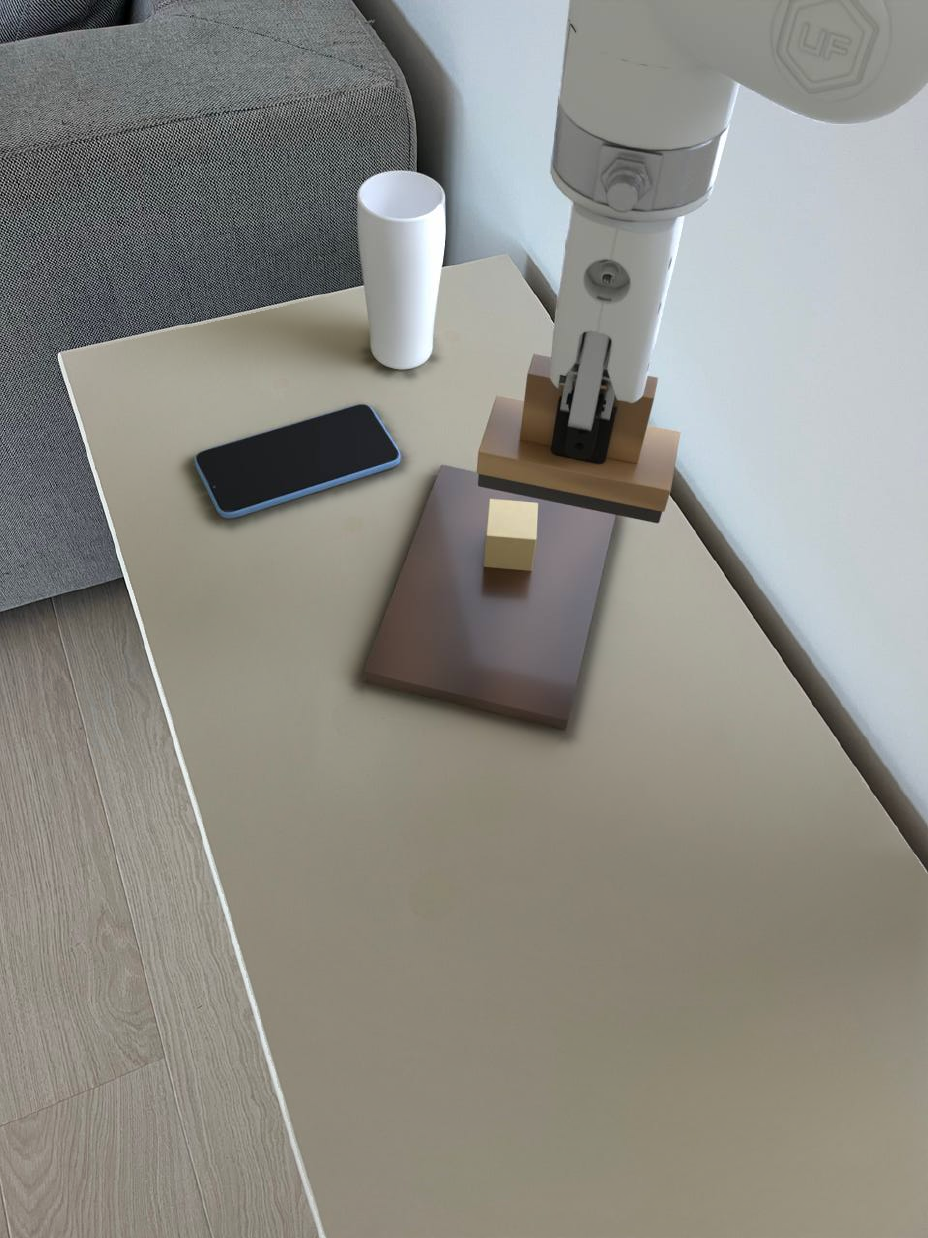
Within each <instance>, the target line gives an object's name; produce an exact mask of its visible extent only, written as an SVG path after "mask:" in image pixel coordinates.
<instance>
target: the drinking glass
mask: <svg viewBox="0 0 928 1238" xmlns="http://www.w3.org/2000/svg"><path fill="white" fill-rule="evenodd" d="M356 230H357V231H356V232H357V245H358V253H359V262H360V267H361V269H360V270H361V274H362V275H361V276H362V282H363V290H364V296H365V303H366V311H367V318H368V320H367V321H368V327H369V344H370V350H371V353H372V356H373V357H374V358H375V360H377V362H378V363H380V364H381V365H383V366H384V367H387V368H390V369H394V370H410V369H414V368H417V367H419V366H420V367H421V365H423V364H425V363H426V362H427V361H428V359H430V358H431V355H432V353H433V349H434V332H435V331H434V330H435V322H436V315H437V306H438V298H439V292H440V283H441V275H442V269H443V261H444V253H445V244H446V243H445V241H446V194H445V190H444V188H443V187H442V185H440V183H439V182H438V181H436V180H435V179H434V178H432V177H429V176H428V175H426V174H424V173H421V172H416V171H411V170H402V169H401V170H399V169H398V170H388V171H382V172H379V173H376V174H374V175H372V176H370V177H368V178H366V179H365V181H363V182H362V183H361V185H360V186H359V188H358V189H357V194H356Z"/></svg>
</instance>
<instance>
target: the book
mask: <svg viewBox="0 0 928 1238" xmlns="http://www.w3.org/2000/svg"><path fill="white" fill-rule="evenodd" d="M478 475H479V474H477V471H473V470H469V469H465V468H459V467H455V466H451V465H446V464H441V465H440V466H439V470H438V472H437V475H436V478H435V480H434V482H433V485H432V488H431V490H430V493H429V496H428V500H427V501H426V503H425V507H424V509H423V512H422V515H421V517H420V520H419V523H418V525H417V528H416V531H415V533H414V535H413V538H412V542H411V544H410V546H409V549H408V552H407V555H406V557H405V560H404V562H403V565H402V568H401V571H400V573H399V575H398V578H397V581H396V583H395V587H394V590H393V592H392V595H391V597H390V600H389V603H388V605H387V608H386V610H385V613H384V615H383V619H382V621H381V624H380V627H379V630H378V632H377V635H376V637H375V640H374V642H373V645H372V648H371V651H370V653H369V656H368V658H367V661H366V664H365V666H364V669H363V682H365V683H370V684H372V685H373V684H374V685H377V686H378V685H379V686H382V687H386V688H390V689H395V690H399V691H402V692H406V693H411V694H415V695H418V696H424V697H427V698H431V699H435V700H438V701H439V700H440V701H444V702H448V703H453V704H456V705H460V706H465V707H469V708H472V709H477V710H481V711H485V712H490V713H493V714H498V715H502V716H506V717H510V718H515V719H518V720H522V721H527V722H531V723H535V724H539V725H543V726H547V727H551V728H555V729H560V730H564V731H567V730H568V725H569V721H570V716H571V711H572V707H573V703H574V699H575V694H576V691H577V685H578V681H579V677H580V674H581V670H582V669H581V668H582V664H583V659H584V655H585V652H586V647H587V642H588V639H589V633H590V630H591V626H592V620H593V616H594V612H595V608H596V604H597V600H598V595H599V591H600V587H601V581H602V578H603V574H604V569H605V564H606V560H607V556H608V552H609V548H610V543H611V539H612V535H613V530H614V526H615V522H616V518H617V515H614V514H609V513H604V512H600V511H595V510H590V509H585V508H580V507H576V506H571V505H566V504H561V503H556V502H551V501H547V500H542V499H537V498H532V497H527V496H522V495H518V494H513V493H508V492H503V491H498V490H493V489H489V488H484V487H479V486H478ZM489 499H498V500H509V501H521V502H533V503H538V518H537V538H536V546H535V553H534V559H533V566H532V571H527V570H515V569H504V568H492V567H484V554H485V542H486V530H487V519H488V508H489Z"/></svg>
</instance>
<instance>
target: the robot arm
mask: <svg viewBox="0 0 928 1238" xmlns="http://www.w3.org/2000/svg"><path fill="white" fill-rule="evenodd" d="M566 18H567V19H566V27H565V35H564V44H563V53H562V61H561V68H560V69H561V70H560V76H559V87H558V93H557V94H558V95H557V104H556V113H555V119H554V128H553V129H554V130H553V137H552V146H551V154H550V161H549V173H550V176H551V179H552V181H553V183H554V185H555V187H556V188H557V189H558V190H559V191H560V193H562V195H564V197H566V198H567V199H568V200H570V202H569V209H568V215H567V221H566V228H565V235H564V242H563V250H562V257H561V264H560V272H559V279H558V288H557V296H556V304H555V305H556V306H555V314H554V322H553V331H552V332H553V333H552V343H551V353H550V357H551V363H550V379H551V381H552V383H553V384H554V385H555V386H556V387H557V388H558V389H559V387H560V385H564V388H563V395H562V397H559V401H558V406H557V412H556V419H555V425H554V432H553V438H552V445H551V452H552V454H554V455H556V456H561V457H565V458H570V459H575V460H580V461H585V462H590V463H595V464H603V463H604V462H605V461H606V456H607V452H608V447H609V443H610V438H611V433H612V429H613V424H614V419H615V415H616V410H617V408H616V407H612V406H613V402H614V397H615V396H616V398H617V400H620V401H627V402H629V403H634V402H636V401H638V400H639V399H640V398H641V397H642V396H643V393H644V389H645V385H646V381H647V377H648V376H649V373H650V367H651V364H652V360H653V356H654V351H655V347H656V343H657V339H658V334H659V331H660V326H661V322H662V319H663V314H664V311H665V310H664V309H665V306H666V302H667V297H668V294H669V289H670V285H671V281H672V276H673V272H674V267H675V264H676V259H677V254H678V250H679V246H680V241H681V235H682V231H683V226H684V220H685V216H687V215H688V214H691V213H693V212H695V211H696V210H698V209H699V208H701V207H702V206H703V205H704V204H705V203H706V202H707V201H708V200H709V198H710V197H711V195H712V193H713V190H714V187H715V182H716V179H717V175H718V171H719V167H720V163H721V159H722V155H723V151H724V147H725V143H726V140H727V136H728V132H729V128H730V125H731V118H732V115H733V112H734V108H735V104H736V99H737V96H738V92H739V88H740V85H741V86H743V87H744V88H746V89H748V90H749V91H751V92H753V93H754V94H756V95H758V96H760V97H761V98H763V99H764V100H766V101H769V102H770V103H772V104H774V105H776V106H777V107H780V108H782V109H783V110H785V111H788V112H790V113H792V114H795V115H796V116H799V117H801V118H805V119H807V120H811V121H814V122H818V123H822V124H828V125H836V126H837V125H839V126H852V125H859V124H865V123H870V122H873V121H876V120H879V119H882V118H885V117H886V116H887V117H888V115H891V114H893V113H894V112H896V111H898V110H900V109H901V108H903V107H904V106H905V105H907V104H908V103H910V102H911V101H912V100H913V99H915V98H916V97H917V96H918V95H919V94H920V93H921V92H922V91H923V90H924V89H925V88H926V87H927V85H928V0H568V10H567V17H566ZM575 383H576V385H575ZM601 385H603V386H607V387H606V392H605V397H604V394H602V393H599V391H600V386H601Z"/></svg>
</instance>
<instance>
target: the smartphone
mask: <svg viewBox="0 0 928 1238" xmlns="http://www.w3.org/2000/svg"><path fill="white" fill-rule="evenodd" d="M401 459H402V456H401V452H400V449H399V447H398V446H397V445H396V443H395V441H394V440H393V437H392V436H391V434H390V433H389V432H388V430H387V429H386V427H385V425H384V424H383V422H382V421H381V419H380V418H379V416H378V415H377V412H376V411H375V410H374V409H373V407H372V406H370V405H368V404H367V403H366V404H365V403H358V404H354V405H351V406H347V407H343V408H341V409H337V410H333V411H331V412H327V413H324V414H321V415H320V414H319V415H316V416H314V417H310V418H307V419H304V420H300V421H297V422H293V423H290V424H287V425H284V426H281V427H280V426H279V427H276V428H274V429H270V430H266V431H263V432H260V433H257V434H253V435H249V436H247V437H244V438H240V439H236V440H233V441H229V442H227V443H223V444H219V445H216V446H213V447H209V448H206V449H203V450H201V451H199V452H198V453H197V454H196V455H195V457H194V465H195V468H196V471H197V472H198V474H199V477H200V478H201V481H202V483H203V485H204V487H205V489H206V492H208V495H209V498H210V499H211V502H212V504H213V506H214V508H215V510H216V512H217V514H218V515H220V517H222V518H224V519H235V518H239V517H243V516H245V515H248V514H251V513H255V512H258V511H261V510H264V509H267V508H270V507H273V506H277V505H280V504H283V503H286V502H290V501H292V500H296V499H298V498H302V497H305V496H308V495H311V494H315V493H317V492H320V491H324V490H326V489H329V488H332V487H336V486H339V485H342V484H345V483H348V482H351V481H355V480H358V479H362V478H364V477H367V476H370V475H373V474H377V473H380V472H383V471H386V470H389V469H391V468H394V467H396V466H398V465H399V464H400V463H401Z"/></svg>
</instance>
